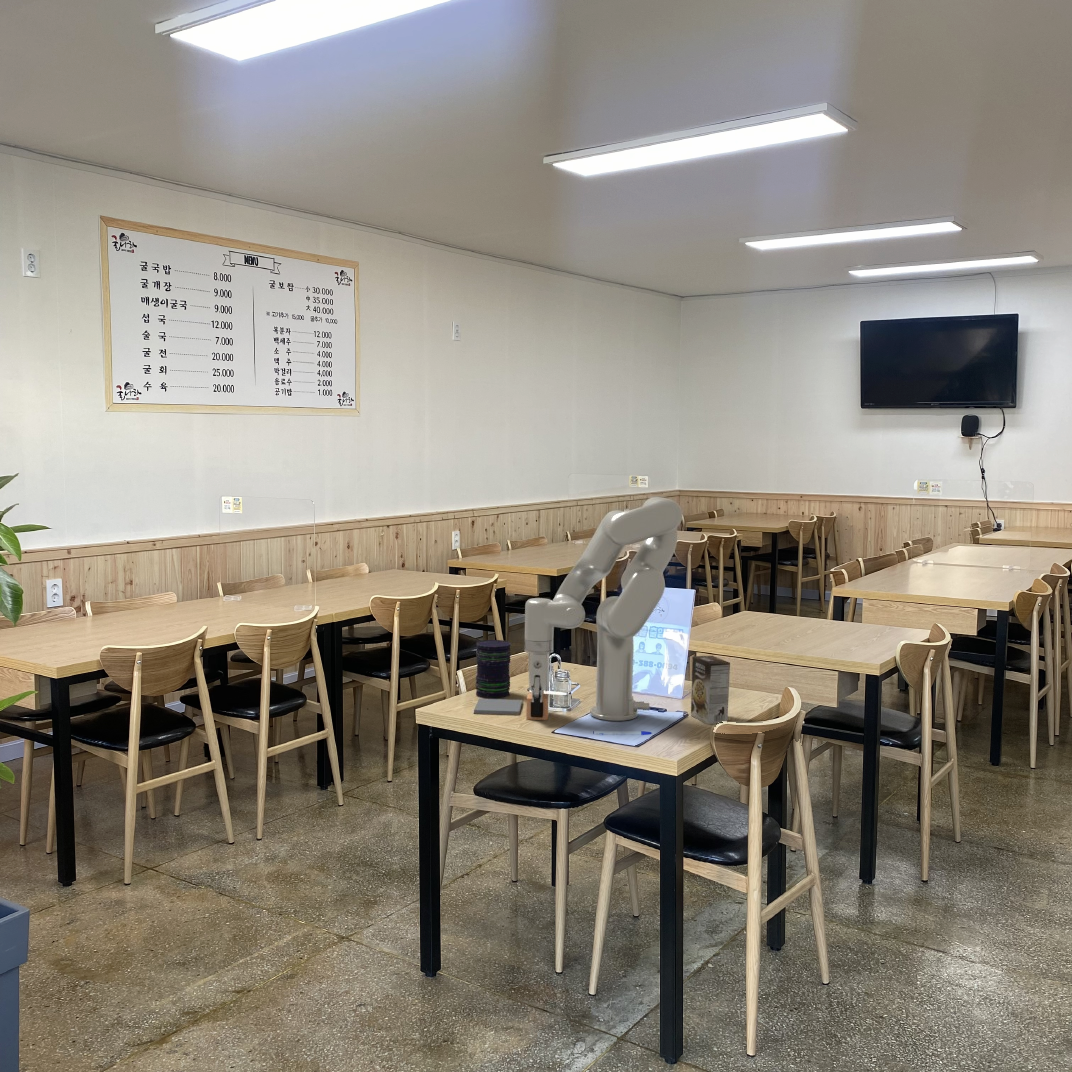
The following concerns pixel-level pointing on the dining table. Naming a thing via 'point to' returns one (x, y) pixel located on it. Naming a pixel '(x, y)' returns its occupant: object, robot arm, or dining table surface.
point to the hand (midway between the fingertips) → (537, 713)
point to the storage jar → (493, 669)
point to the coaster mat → (498, 706)
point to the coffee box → (710, 689)
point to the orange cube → (545, 707)
